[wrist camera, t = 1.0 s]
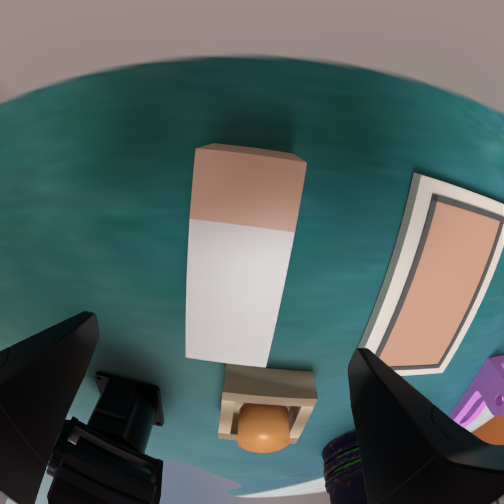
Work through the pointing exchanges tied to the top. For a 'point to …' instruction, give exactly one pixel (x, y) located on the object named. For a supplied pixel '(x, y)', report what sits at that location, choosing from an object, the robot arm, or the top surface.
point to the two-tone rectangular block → (239, 250)
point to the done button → (263, 427)
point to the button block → (266, 396)
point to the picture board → (435, 276)
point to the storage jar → (344, 470)
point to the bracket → (482, 393)
